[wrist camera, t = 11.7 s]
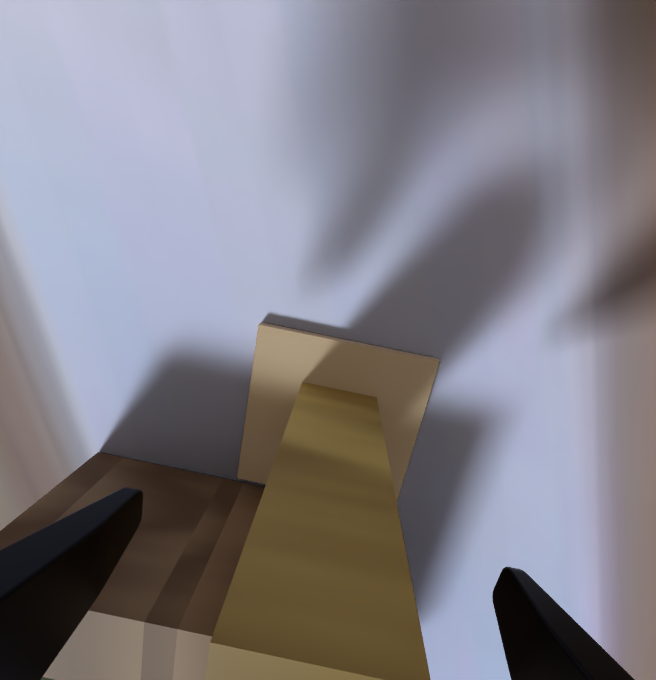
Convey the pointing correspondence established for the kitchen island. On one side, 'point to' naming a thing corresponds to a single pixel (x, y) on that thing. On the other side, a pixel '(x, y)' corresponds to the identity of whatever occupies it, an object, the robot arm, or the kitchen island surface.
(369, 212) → the kitchen island surface
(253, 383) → the pad
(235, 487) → the block
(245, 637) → the square wooden peg
